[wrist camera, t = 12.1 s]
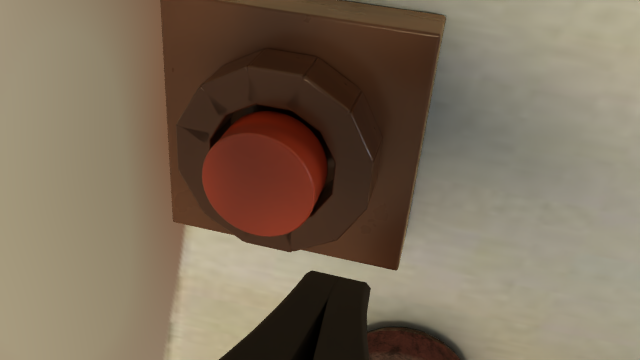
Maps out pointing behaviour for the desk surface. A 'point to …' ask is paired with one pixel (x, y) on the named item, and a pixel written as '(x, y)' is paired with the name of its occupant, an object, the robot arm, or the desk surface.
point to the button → (265, 173)
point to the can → (406, 345)
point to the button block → (306, 108)
